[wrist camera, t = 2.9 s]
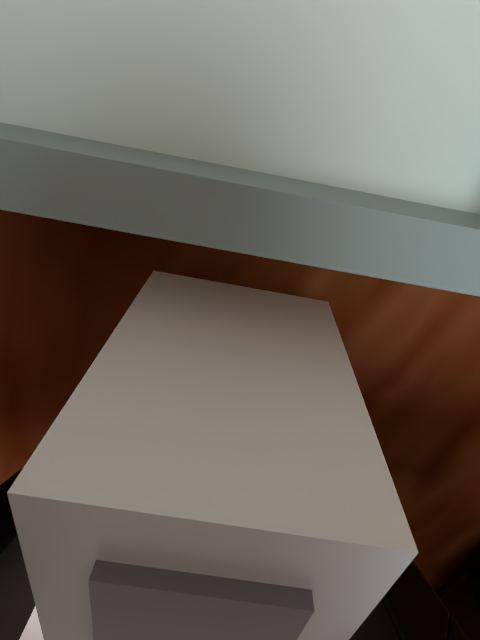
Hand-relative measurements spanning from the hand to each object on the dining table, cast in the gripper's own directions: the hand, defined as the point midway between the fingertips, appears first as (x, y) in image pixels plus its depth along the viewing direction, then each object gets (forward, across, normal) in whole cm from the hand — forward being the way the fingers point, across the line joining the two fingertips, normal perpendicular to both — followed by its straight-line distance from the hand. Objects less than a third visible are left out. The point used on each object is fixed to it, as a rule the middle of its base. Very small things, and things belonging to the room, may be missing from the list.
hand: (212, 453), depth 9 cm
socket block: (+2, 0, 0) cm, 2 cm away
